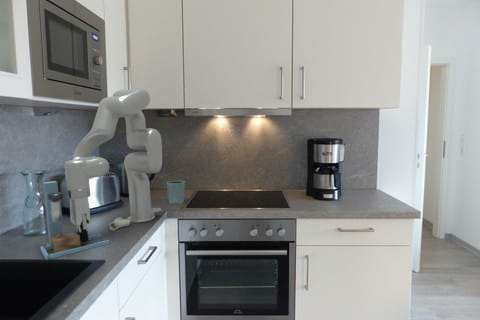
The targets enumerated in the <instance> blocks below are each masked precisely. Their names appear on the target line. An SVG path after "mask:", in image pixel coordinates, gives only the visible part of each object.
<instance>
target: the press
mask: <svg viewBox="0 0 480 320" xmlns="http://www.w3.org/2000/svg"><path fill="white" fill-rule="evenodd" d="M42 189H43V198H44V207H45V213H46V214H45V215H46V224H47V234H48V242H47V243H45V244H46V245H45V246H43V245H41V246H40V253H41V254H42V256H43V258H44V260H45V261H47V260H50V259H54V258H59V257H62V256H67V255H71V254H73V253H77V252H78V253H79V252H83V251H86V250H90V249H95V248H98V247H101V246H105V245H110V240H109V239H107V240H102V241H98V242H94V243H91V244H90V243H89V244H86V245H83V246H81V247H78V248H73V249H69V250H65V251H61V252H57V253H55V252H53V253H50V254H49V253H48V252H47V251H49V250H53V247H52V238H51V237H53V236H56V234H60V235H62V234H63V229H62V228H63V226H62V220H61V221H58V222H53V219H52V209H51V200H48V196H47V195H48V194H51V193H59V187H58V181H56V180H53V181H45V182H44V181H43V182H42ZM99 238H102V233H97V234H93V235H88V241H90V240H95V239H99Z"/></svg>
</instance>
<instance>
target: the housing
mask: <svg viewBox="0 0 480 320" xmlns="http://www.w3.org/2000/svg"><path fill="white" fill-rule="evenodd" d="M77 232H78V231H73V232H68V233H62V235H60V234H56V236H53V237H51V238H52V247H53V249H52V251H53V253H57V252H61V251H65V250H69V249H73V248H78V247H82V246H81V244H82V243H80V235H79V234H78V233H77Z"/></svg>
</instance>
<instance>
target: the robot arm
mask: <svg viewBox="0 0 480 320" xmlns="http://www.w3.org/2000/svg"><path fill="white" fill-rule="evenodd" d="M150 102H151V96H150V93H149V91H147V90H146V89H144V88H132V89H121V90H117V91H115V92H114V93H113V95H112V96H107V97H104V98H102V99H101V100H100V101H99V104H98V108H97V111H96V113H95V114H96V115H95V118H94V120H93V123H92V127H91V129H90V130H89V132H88V133H87V134H86V135H85V136H84V137H83V138H82V139H81V141H80V142H79V143H78V144H77V146H76V148H75V150H74V153H73V156H72V158H71V159H70V160H66V161H65V162H64V173H65V174H64V176H65V186H66V194H67V195H66V196H67V199H68V200H69V215H70V222H71V224H73V225H74V226H75V227H76V230H77V231H76V232H77V233H78V234H79V235H80V244H82V243H86V242H89V240H88V236H89V233H88V225H90V224H91V210H90V203H89V202H90V201H89V198H90V197H91V188H90V178H93V177H94V178H97V177H102V176H105V175H106V174H108V172H109V170H110V163H109V161H108V160H107V159H106V158H103V157H100V156H92V154H93V152H95V150H96V148H98V147H99V146H101V145H102V144H104V143H106V142H108V141H109V140H111V139H112V138H113V137H115V132H116V128H117V124H118V122H119V119H120V118H125V128H126V129H125V130H126V131H125V132H126V144H127V146H128V147H129V149H132V150H146V152H145V151H144V152H141V151H138V152H137V151H136V152H131V153H128V154H127V155H126V156H125V158H124V160H123V164H124V168H125V172H126V177H127V187H128V199H129V213H130V216H128V217H127V218H126V219H128V220H129V221H130V223H145V222H150V221H152V220H154V219H156V215H155V214H156V213H161V212H162V208H161V207H158V208H156V207H152V201H151V190H150V189H151V188H150V187H151V185H150V184H151V183H150V179H149V177H148V175H147V174H157V173H159V172H160V171H161V169H162V166H163V145H162V144H163V143H162V136H161V134H160V132H159V130H157V129H156V128H150V127H148V128H146V117H145V115H144V113H143V112H142V111H143V110H145V109H146V108H147V107H149V105H150Z"/></svg>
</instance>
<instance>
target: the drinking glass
mask: <svg viewBox="0 0 480 320" xmlns="http://www.w3.org/2000/svg"><path fill="white" fill-rule="evenodd" d="M185 186H186V181H185V180H181V179H180V180H169V181H167V182H166V188H167V197H168V198H167V199H168V204H169V205H180V204H181V205H182V204H184V202H185V188H186V187H185Z"/></svg>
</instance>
